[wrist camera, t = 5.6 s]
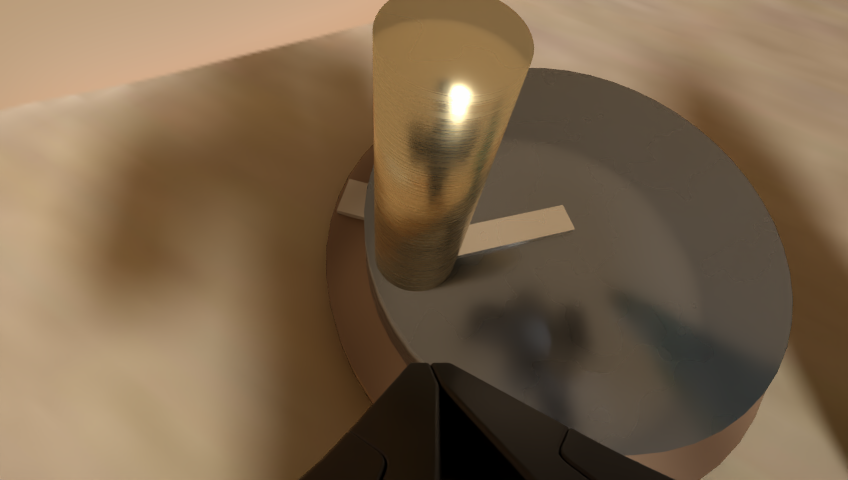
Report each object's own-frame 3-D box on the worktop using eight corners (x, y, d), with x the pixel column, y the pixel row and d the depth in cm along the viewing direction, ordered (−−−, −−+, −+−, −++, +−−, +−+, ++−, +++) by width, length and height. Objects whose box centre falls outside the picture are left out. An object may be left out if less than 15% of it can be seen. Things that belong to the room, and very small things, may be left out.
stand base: (723, 161, 23) (748, 138, 21) (773, 572, 14) (820, 585, 13) (395, 78, 23) (396, 51, 22) (256, 429, 15) (242, 424, 13)
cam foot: (625, 89, 22) (800, -178, 13) (821, 384, 16) (1435, 266, 7) (331, 135, 19) (289, -177, 10) (428, 526, 13) (568, 679, 3)
